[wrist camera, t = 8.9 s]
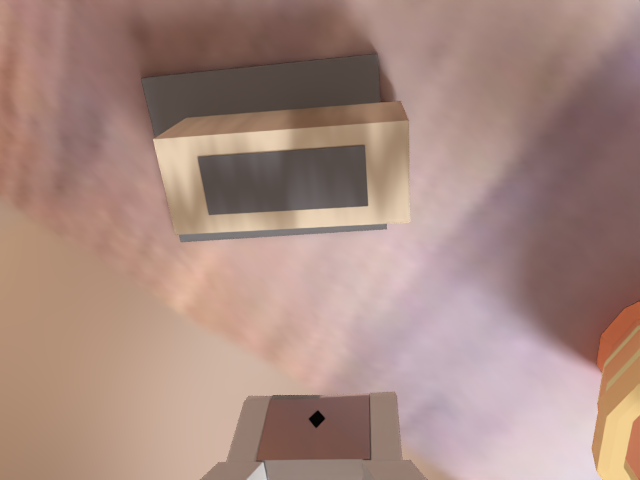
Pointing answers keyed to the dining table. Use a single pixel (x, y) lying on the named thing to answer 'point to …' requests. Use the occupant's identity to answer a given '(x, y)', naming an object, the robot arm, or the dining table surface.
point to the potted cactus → (619, 399)
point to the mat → (263, 104)
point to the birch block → (287, 169)
